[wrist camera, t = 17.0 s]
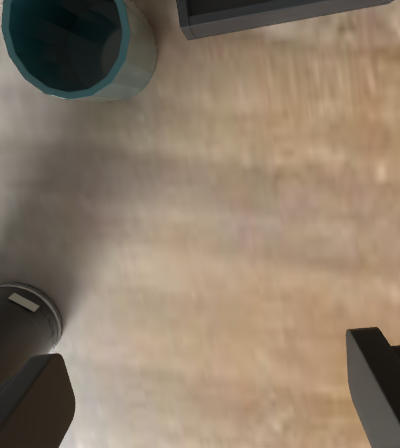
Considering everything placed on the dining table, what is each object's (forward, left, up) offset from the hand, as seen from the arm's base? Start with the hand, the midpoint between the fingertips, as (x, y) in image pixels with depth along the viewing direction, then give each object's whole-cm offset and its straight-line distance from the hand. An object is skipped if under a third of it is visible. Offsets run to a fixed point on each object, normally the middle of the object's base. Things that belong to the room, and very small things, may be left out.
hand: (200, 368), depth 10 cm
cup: (-8, +13, -26) cm, 30 cm away
